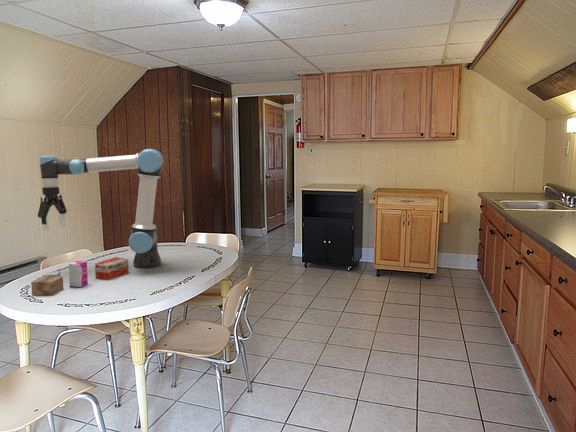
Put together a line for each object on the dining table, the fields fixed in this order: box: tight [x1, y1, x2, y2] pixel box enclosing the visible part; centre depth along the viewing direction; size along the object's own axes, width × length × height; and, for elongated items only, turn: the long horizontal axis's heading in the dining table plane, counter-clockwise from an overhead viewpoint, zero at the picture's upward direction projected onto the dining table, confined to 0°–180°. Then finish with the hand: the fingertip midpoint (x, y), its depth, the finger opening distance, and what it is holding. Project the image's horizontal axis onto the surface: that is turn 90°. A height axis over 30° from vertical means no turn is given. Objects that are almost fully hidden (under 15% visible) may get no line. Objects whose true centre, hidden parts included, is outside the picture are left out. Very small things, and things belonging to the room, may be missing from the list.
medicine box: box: [94, 256, 130, 281], centre depth 222 cm, size 15×8×8 cm, turn 158°
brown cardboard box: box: [30, 275, 64, 296], centre depth 196 cm, size 9×9×6 cm
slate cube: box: [42, 271, 62, 277], centre depth 206 cm, size 6×6×6 cm
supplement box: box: [68, 260, 89, 289], centre depth 205 cm, size 6×6×12 cm
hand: (54, 228), depth 221 cm, fingers open, 13 cm apart
